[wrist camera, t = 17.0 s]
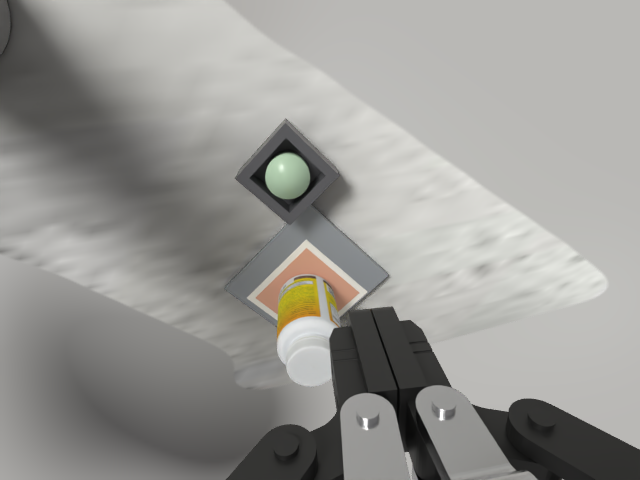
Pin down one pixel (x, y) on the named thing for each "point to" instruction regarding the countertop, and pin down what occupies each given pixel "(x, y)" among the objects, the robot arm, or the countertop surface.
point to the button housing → (317, 163)
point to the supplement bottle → (306, 328)
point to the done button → (287, 175)
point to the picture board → (306, 266)
